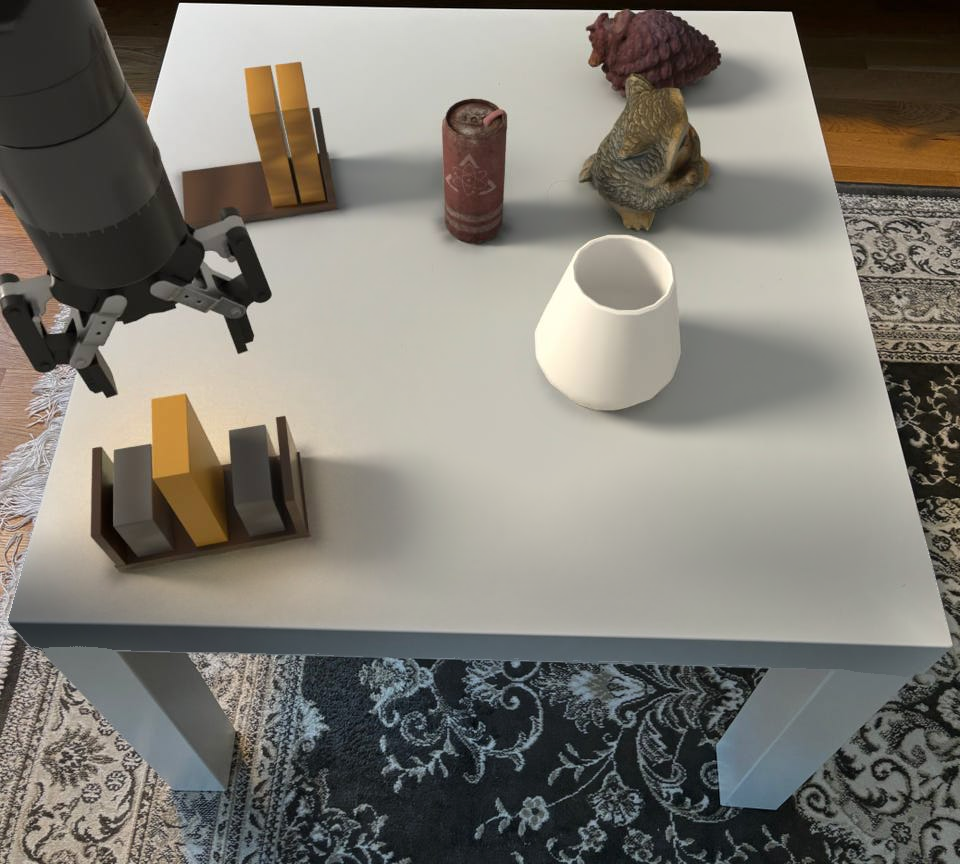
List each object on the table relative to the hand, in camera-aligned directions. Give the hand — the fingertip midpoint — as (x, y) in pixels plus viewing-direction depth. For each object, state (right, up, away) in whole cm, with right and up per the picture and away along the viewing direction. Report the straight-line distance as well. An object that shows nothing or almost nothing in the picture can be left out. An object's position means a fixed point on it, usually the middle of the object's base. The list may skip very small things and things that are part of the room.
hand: (175, 364), depth 58 cm
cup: (+31, +1, +27) cm, 42 cm away
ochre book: (-3, -11, +18) cm, 21 cm away
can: (+19, +18, +37) cm, 45 cm away
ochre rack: (-4, +21, +39) cm, 44 cm away
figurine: (+38, +21, +39) cm, 58 cm away
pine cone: (+40, +37, +49) cm, 73 cm away
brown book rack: (-3, -11, +19) cm, 22 cm away
